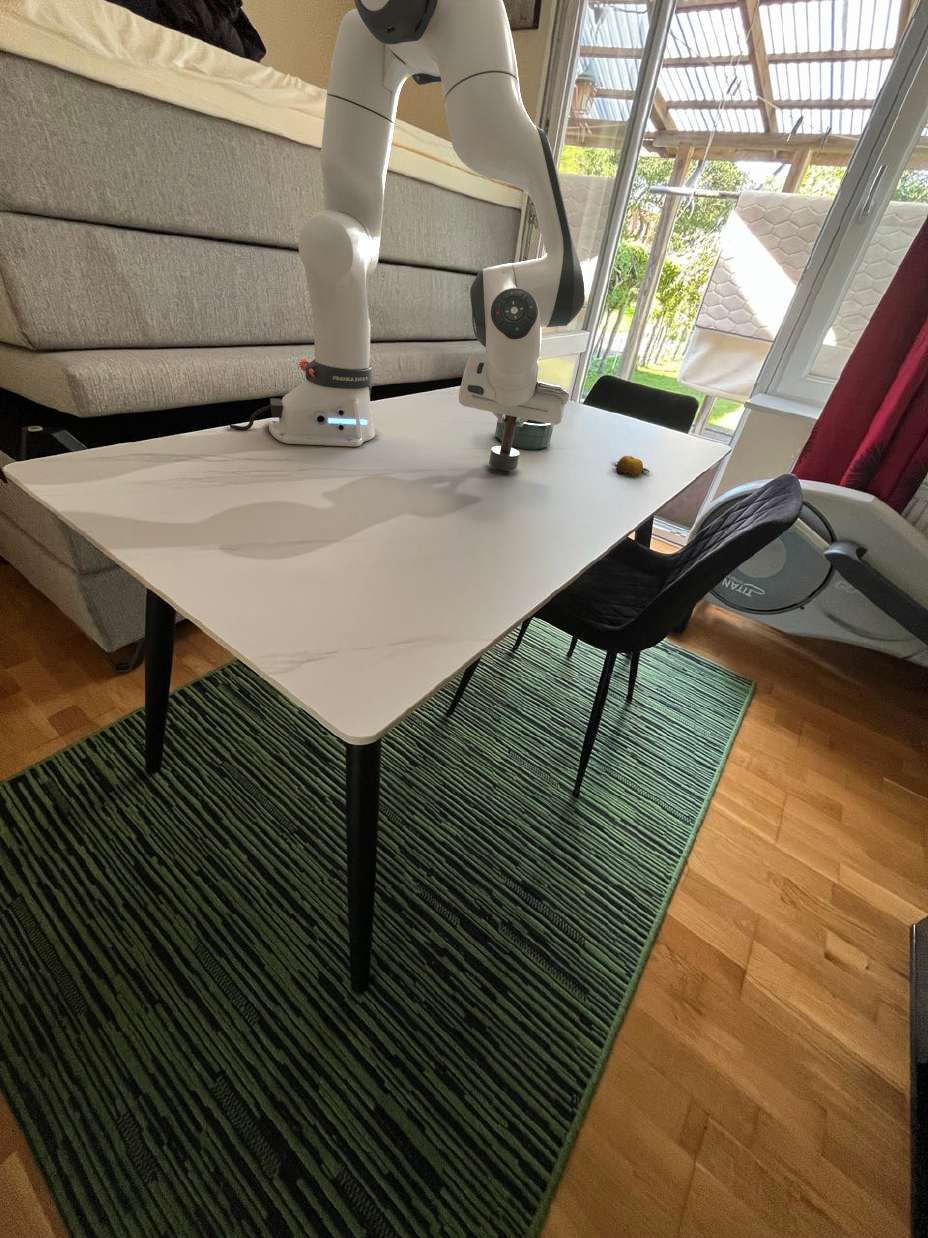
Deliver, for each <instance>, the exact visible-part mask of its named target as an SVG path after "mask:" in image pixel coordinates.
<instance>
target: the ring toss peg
mask: <svg viewBox="0 0 928 1238" xmlns="http://www.w3.org/2000/svg"><path fill="white" fill-rule="evenodd" d="M516 419H517V417H514V416H509V415H506V420H505V426H504V432H503V437H502V442H501V444H500V445H495V446H492V447H491V449H490V453H489V459H488V464H489V465H490V466H491V467H493V468H495V469H498V470H502V471H515V470H516V469H517V468H518V463H519V459H520V451H519V450H517V449H515V448H514V447H513V446H512V442H513V437H514V431H515V422H516Z"/></svg>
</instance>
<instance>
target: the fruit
mask: <svg viewBox="0 0 928 1238" xmlns="http://www.w3.org/2000/svg"><path fill="white" fill-rule="evenodd" d="M614 463H615V465H616V467H615V470H616V472H617V473H619V474H620V473H624V474H626V473H628V474H631V475H632V477H639V476H640V475H641V473H642V472H646V474H648V473H650V472H651V471H650V469H648V468H646V467H644V464H643V461H642V460H641V459H639V458H636V457H633V456H632V455H623V456H622V457H620V458H619V460H618V461H615V462H614Z"/></svg>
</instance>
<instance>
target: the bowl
mask: <svg viewBox="0 0 928 1238" xmlns="http://www.w3.org/2000/svg"><path fill="white" fill-rule="evenodd" d="M504 426H505V423H500V422H498V419H497V420H496V426H495V433H494V435H495V436H496V438H497V440H499V442H501V443H502V437H503V432H504ZM554 426H555V425H553V424H548V423H543V422H538V421H533V420H528V421H526V422H524V423H523V426H522V427H520V426H515V431H514V437H513V442H512V448H517V449H522V450H530V451H534V450H537V451H538V450H542V449H545V448H547V447H548V446H549V445H550V442H551V438H552V435H553V430H554Z"/></svg>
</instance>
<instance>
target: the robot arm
mask: <svg viewBox="0 0 928 1238" xmlns="http://www.w3.org/2000/svg"><path fill="white" fill-rule="evenodd" d="M354 4H355V8H353V9H351V10H349V11H348V12H347V13H345V15H344V16H343V17H342V19H341V22H340V24H339V28H338V33H337V36H336V40H335V44H334V49H333V53H332V58H331V64H330V68H329V74H328V80H327V81H328V83H327V90H326V98H325V99H326V100H325V107H324V109H325V110H324V117H323V127H322V138H321V146H320V155H319V156H320V165H321V171H322V172H321V173H322V188H323V189H322V190H323V191H322V192H323V209H322V210H320V211H317V212H316V213H314V214H313V215H312V216H310V217H309V218H308V219H307V220H306V221H305V222H304V224H303V225H302V227H301V228H300V232H299V235H298V243H297V245H298V254H299V258H300V259H301V263H302V264H303V267H304V271H305V278H306V283H307V288H308V295H309V299H310V305H311V310H312V320H313V321H312V322H313V343H314V344H313V345H314V359H313V360H311V361H310V362H309V361H308V360H307V359H305V358H302V359H300V361H299V362H298V366H299V368H300V370H302V371H303V372H304V373H305V374H304V375H305V380H303V381H302V382H301V383H299V384H298V385H297V386H295V387H294V388H293V389H291V390H290V391H289V392H287V393H286V394H285V395H283V397H282V399H281V398H274V397H273V398H272V397H271V398H269V402H270V404H269V405H267V406H263V407H261V408H258V409H257V410H255V411H254V412H253V413H252V414H251V416H250V418H249V422H248V424H247V425H245V426H242V425H236V424H229V429H233V430H237V431H247V430H250V429H251V428H252V427H253V425H254V422H255V419H256V417H257V416H258V415H259V414H262V413H264V412H267V411H270V412H271V417H272V418H271V420H269V423H268V430H269V433H270V434H271V436H273V438H275V439H276V440H277V441H279V442H282V443H284V444H290V445H307V446H308V445H309V446H332V447H333V446H334V447H360V446H361V445H362V444H363V443H364V442H367V441H370V440H372V439H373V438H375V436H376V431H375V428H374V422H373V417H372V416H373V415H372V408H371V394H372V386H373V374H372V366H371V364H370V363H371V361H370V359H371V330H372V329H371V327H372V326H371V320H370V315H369V307H368V306H369V305H368V295H367V283H366V282H367V279H369V278H370V277H371V276H372V275H373V273H374V272H375V270H376V268H377V266H378V263H379V260H380V259H379V258H380V247H381V238H382V228H383V216H384V215H383V214H384V201H385V200H384V199H385V185H386V179H387V171H388V165H389V160H390V154H391V147H392V141H393V136H394V135H393V134H394V130H395V129H394V128H395V122H396V116H397V111H398V109H397V108H398V102H399V97H400V93H401V90H402V87H403V85H404V84H405V82H406V81H407V79H409V78H410V77H412V79H413V80H414V82H415V83H416V84H417V85H419V86H422V85H427V84H433V83H441V88H442V96H443V104H444V112H445V117H446V123H447V129H448V133H449V137H450V143H451V145H452V148H453V151H454V152H455V154H456V156H457V157H458V158H459V160H460V161H461V162H462V163H463V165H465V166H466V167H467V168H468V169H470V170H471V171H473V172H474V173H476V174H478V175H480V176H483V177H485V178H489V179H492V180H496V181H501V182H504V183H507V184H510V185H513V186H515V187H517V188H519V189H521V190H522V191H523V192H524V193H526V194H527V195H528V197H529V198H530V199H531V201H532V203H533V204H532V205H533V206H534V211H535V214H536V218H537V222H538V227H539V230H540V231H539V232H540V234H541V239H542V242H543V246H544V251H545V255H544V256H542V257H539V258H535V259H534V258H533V259H530V260H524V261H519V262H513V263H511V262H508V263H504V264H498V265H493V266H489V267H486V268H483V269H481V270H480V271H479V272H478V273H477V275H476V276H475V278H474V280H473V282H472V284H471V286H470V289H469V295H470V296H469V297H470V306H471V322H472V330H473V333H474V336H475V338H476V340H477V341H478V342H479V343H480V344H481V345H482V346H483V347H484V348H485V352H479V353H477V352H475V353H471V354H470V355H469V357H468V359H467V361H466V364H465V368H464V371H463V375H462V379H461V383H460V387H459V390H458V403H459V404H460V405H462V406H463V407H466V408H470V409H476V410H479V411H486V412H490V413H492V414H493V415H494V416H495V417H496V418H497V420H498V422H500V423H505V420H506V415H509V416H514V417H517V419H516V422H515V426H520V427H522V426H523V423H524V422H526V421H528V420H533V421H538V422H543V423H548V424H553V425H554V426H557V425H559V424H561V423H562V422H563V418H564V413H565V409H566V404H567V403H568V402H569V398H570V393H569V392H568V391H567V390H565V389H563V387H562V386H560V385H557V384H551V383H546V382H542V381H538V376H539V365H540V364H539V358H540V355H541V349H542V328H545V327H546V328H556V327H557V328H558V327H567V326H568V325H569V324H570V323H572V321H574V319H575V318H576V317H577V316H578V315H579V313H580V312H581V310H582V309H583V307H584V305H585V300H586V282H585V277H584V273H583V269H582V266H581V262H580V259H579V256H578V253H577V250H576V247H575V243H574V239H573V235H572V232H571V225H570V222H569V217H568V213H567V208H566V204H565V199H564V195H563V190H562V187H561V186H562V185H561V182H560V177H559V173H558V169H557V165H556V161H555V158H554V154H553V150H552V147H551V144H550V141H549V138H548V136H547V134H546V132H545V130H544V129H542V128H540V127H539V126H537V125H535V124H534V123H533V121H532V119H531V118H530V117H529V114H528V113H527V111H526V108H525V106H524V104H523V101H522V97H521V91H520V81H519V72H518V66H517V65H518V64H517V58H516V53H515V52H516V51H515V46H514V41H513V40H514V39H513V37H512V30H511V26H510V22H509V18H508V13H507V10H506V7H505V3H504V1H503V0H354Z"/></svg>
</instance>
